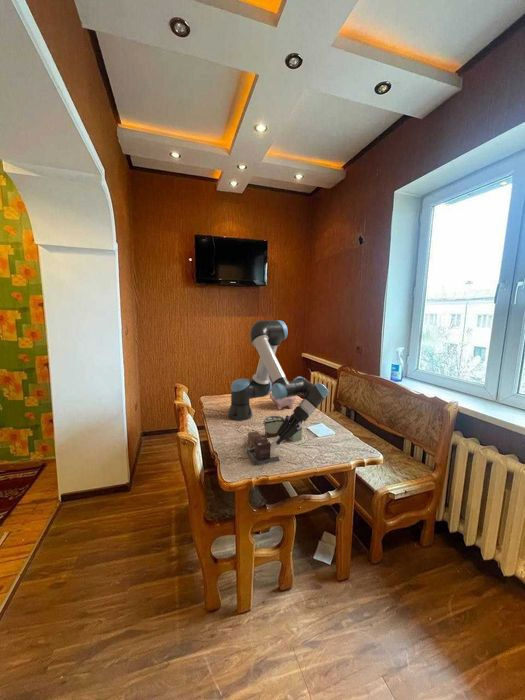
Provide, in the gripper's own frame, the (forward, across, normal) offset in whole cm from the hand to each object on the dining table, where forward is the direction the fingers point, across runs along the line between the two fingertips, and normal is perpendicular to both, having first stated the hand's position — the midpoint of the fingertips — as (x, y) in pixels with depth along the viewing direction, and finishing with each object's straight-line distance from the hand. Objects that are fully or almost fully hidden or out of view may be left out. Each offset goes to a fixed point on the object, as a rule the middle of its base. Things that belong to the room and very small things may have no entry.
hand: (271, 448), depth 130 cm
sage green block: (-11, +11, -16) cm, 22 cm away
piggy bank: (-20, +57, -26) cm, 66 cm away
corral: (+6, 0, +1) cm, 6 cm away
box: (+6, +1, 0) cm, 6 cm away
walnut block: (+6, +12, 0) cm, 13 cm away
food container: (-3, +19, -9) cm, 21 cm away
